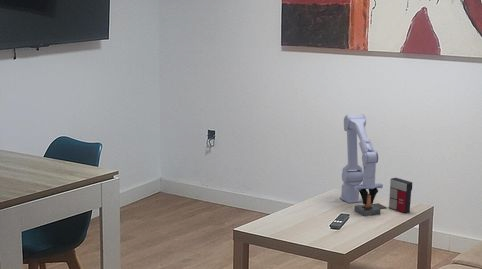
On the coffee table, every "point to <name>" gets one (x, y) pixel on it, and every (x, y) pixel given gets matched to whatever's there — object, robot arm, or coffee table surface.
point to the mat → (379, 206)
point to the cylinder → (368, 202)
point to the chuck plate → (367, 210)
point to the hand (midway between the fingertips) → (367, 203)
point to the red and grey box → (400, 195)
